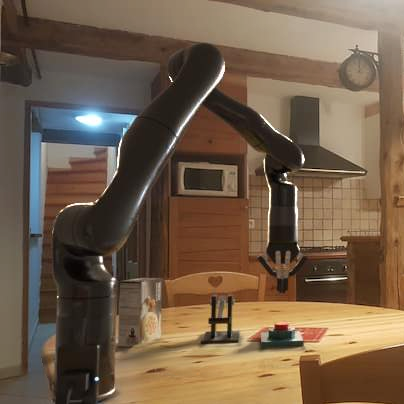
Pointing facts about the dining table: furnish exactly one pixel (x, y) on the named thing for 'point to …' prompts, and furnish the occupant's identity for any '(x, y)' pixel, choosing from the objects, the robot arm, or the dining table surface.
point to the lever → (220, 312)
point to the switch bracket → (215, 335)
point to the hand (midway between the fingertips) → (282, 292)
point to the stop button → (281, 326)
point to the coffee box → (139, 311)
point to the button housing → (281, 338)
